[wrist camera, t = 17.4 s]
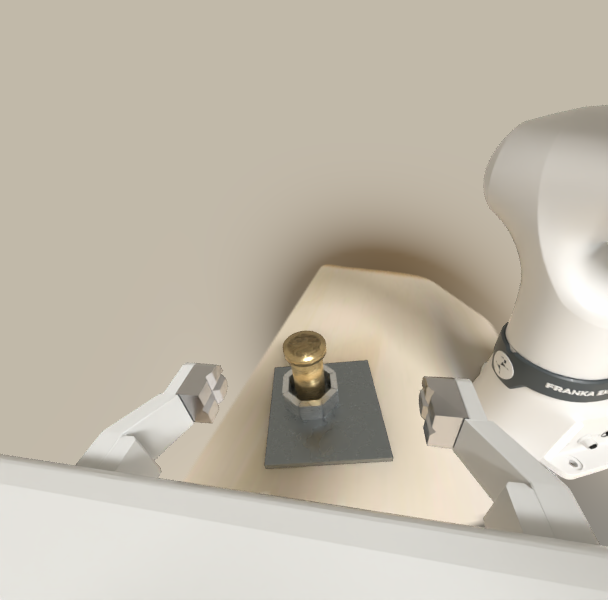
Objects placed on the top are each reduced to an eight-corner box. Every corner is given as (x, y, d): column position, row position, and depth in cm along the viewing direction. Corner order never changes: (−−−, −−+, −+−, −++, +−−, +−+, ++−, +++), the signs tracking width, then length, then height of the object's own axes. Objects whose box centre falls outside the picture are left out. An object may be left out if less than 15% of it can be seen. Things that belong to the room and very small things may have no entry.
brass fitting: (336, 389, 48) (333, 338, 41) (317, 418, 44) (310, 367, 37) (306, 375, 51) (298, 326, 44) (285, 401, 47) (274, 351, 40)
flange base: (367, 363, 53) (367, 347, 51) (392, 461, 38) (395, 444, 36) (275, 371, 54) (271, 355, 52) (265, 468, 39) (259, 452, 37)
